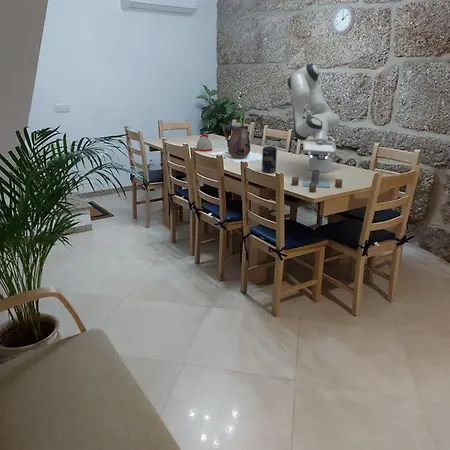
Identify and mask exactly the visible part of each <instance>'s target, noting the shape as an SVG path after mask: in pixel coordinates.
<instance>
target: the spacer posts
mask: <svg viewBox="0 0 450 450" xmlns="http://www.w3.org/2000/svg"><path fill="white" fill-rule="evenodd" d="M299 178H300V177H299V176H298V177H297V176H292V178H291V186H293V187H297V186H299ZM334 182H335V183H334V187H335V189H342V187H343V179H341V178H336V179H335V181H334ZM316 192H317V187H316V184H315V183H310V184H309V187H308V193H316Z"/></svg>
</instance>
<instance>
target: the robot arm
mask: <svg viewBox="0 0 450 450" xmlns="http://www.w3.org/2000/svg"><path fill="white" fill-rule="evenodd" d="M319 76H320V71H319V69H318V67H317V66H316V64H314V63H309V64H306V66H303V67H301V68H300V69H298V70H297V71H296V72H294V73H292V75H290V76H289V77H288V79H287V81H286V82H287V85H288V87H289V89H290V90H291V93H292V116H293V118H292V119H293V125H294V128H293V133H294V136H295V138H296V139H297V140H299V141H303V142H302V145H303V147H302V153H303V154H307V156H308V157H309V159H308V166H306V168H305V169H306V170H307V171H310V172H312V170H319V171H320V173H329V172H334V168H332V158H331V157H330V156H335V155H336V153H337V145H336V143H335V138H333V137H330V136H328V133H329V130H333V129H335V128H337V127H339V126H340V122H341V118H340V116H339V114H337V113H336V112H334V111H333V110H332V108H331V107H330V106H329V105H328V103H327V102H326V98H325V96H324V93H323V91H322V88H321V87H320V84H319V83H318V78H319ZM307 104H308V107H309V109H310V111H312V112H313V113H314V114H313V115H309V116H307V117H306V118H305V119H304V117H303V115H304V114H303V111H304V109H305V108H306V106H307ZM311 135H312V136H313V137H312V138H313V139H310V140H309V139H308V138H309V137H310V136H311Z"/></svg>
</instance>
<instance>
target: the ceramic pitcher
mask: <svg viewBox="0 0 450 450" xmlns="http://www.w3.org/2000/svg"><path fill="white" fill-rule="evenodd" d="M227 129H230V130H231V135H230V137H228V135H227ZM248 129H249V126H248V125H244V124H235V125H234V124H233V125H226V126H225V127H224V129H223V135H224V138H225V140H226V144H227V145H226V146H227V150H228V154H229V155H230V157H232V158H233V159H238V160H239V159H246V158H247V157H248V156H249V154H250V152H251V143H250V137H249V134H248V133H249V132H248V131H249V130H248Z"/></svg>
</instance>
